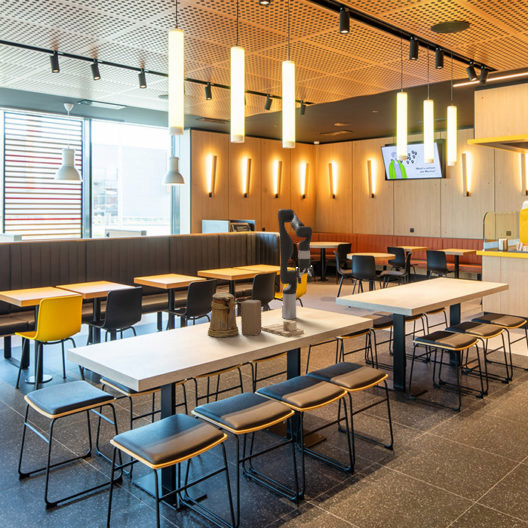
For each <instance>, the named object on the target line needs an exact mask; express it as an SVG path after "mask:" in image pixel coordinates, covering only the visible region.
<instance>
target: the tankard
mask: <svg viewBox="0 0 528 528" xmlns="http://www.w3.org/2000/svg"><path fill="white" fill-rule="evenodd" d="M235 301H236V298H235V296H234V295H233V294H231V293H229V292H216V293H214V294H213V295H212V301H211V304H210V305H211V314H210V315H211V316H210V322H209V327H208V330H207V335H208V336H210V337H214V338H228V337H234V336H237V335H239V326H238V324H237V318H236V310H235V309H236V307H237V306H236V302H235Z"/></svg>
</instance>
